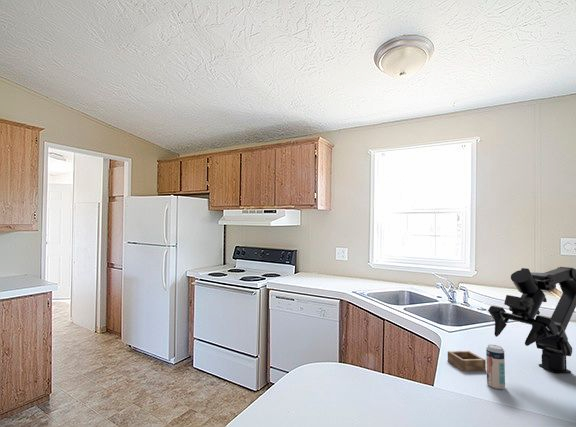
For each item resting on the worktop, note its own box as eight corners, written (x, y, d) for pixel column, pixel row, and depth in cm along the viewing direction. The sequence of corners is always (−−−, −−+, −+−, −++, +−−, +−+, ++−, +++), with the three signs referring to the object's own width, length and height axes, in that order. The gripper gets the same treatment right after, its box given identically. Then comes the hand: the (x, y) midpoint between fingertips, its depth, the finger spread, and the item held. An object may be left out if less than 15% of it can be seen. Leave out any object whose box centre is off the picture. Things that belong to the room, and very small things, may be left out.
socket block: (469, 360, 118) (468, 350, 118) (485, 370, 109) (485, 359, 110) (447, 361, 117) (447, 351, 117) (462, 371, 108) (462, 360, 109)
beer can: (488, 381, 101) (487, 343, 102) (506, 386, 98) (505, 346, 99) (485, 386, 97) (485, 346, 98) (504, 392, 94) (503, 350, 95)
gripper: (490, 282, 113) (470, 316, 108) (551, 291, 96) (531, 332, 91) (505, 303, 116) (486, 337, 111) (566, 315, 99) (547, 356, 94)
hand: (510, 340), depth 102 cm, fingers open, 9 cm apart
